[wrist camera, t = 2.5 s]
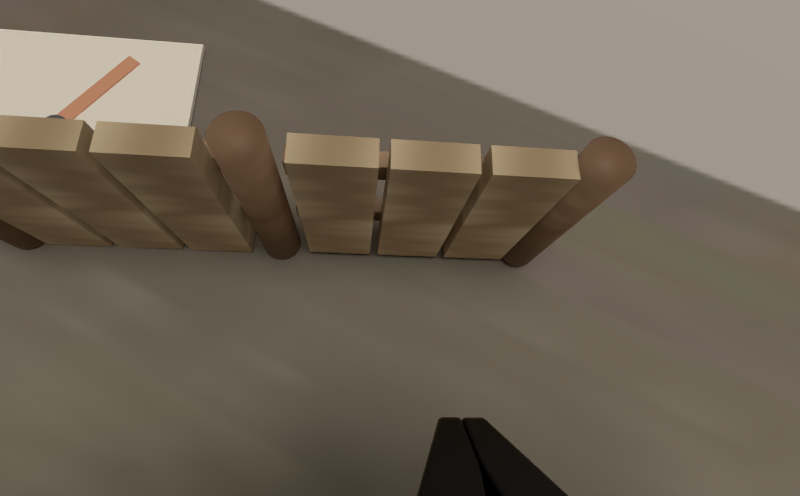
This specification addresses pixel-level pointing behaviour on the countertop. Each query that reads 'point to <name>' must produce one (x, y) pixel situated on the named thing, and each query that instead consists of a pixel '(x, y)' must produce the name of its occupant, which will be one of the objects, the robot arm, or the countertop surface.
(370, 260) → the countertop surface
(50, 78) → the card
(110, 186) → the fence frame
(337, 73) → the countertop surface
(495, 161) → the fence panel
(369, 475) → the countertop surface
